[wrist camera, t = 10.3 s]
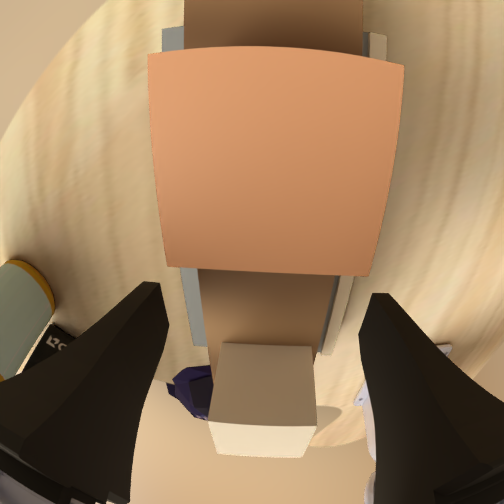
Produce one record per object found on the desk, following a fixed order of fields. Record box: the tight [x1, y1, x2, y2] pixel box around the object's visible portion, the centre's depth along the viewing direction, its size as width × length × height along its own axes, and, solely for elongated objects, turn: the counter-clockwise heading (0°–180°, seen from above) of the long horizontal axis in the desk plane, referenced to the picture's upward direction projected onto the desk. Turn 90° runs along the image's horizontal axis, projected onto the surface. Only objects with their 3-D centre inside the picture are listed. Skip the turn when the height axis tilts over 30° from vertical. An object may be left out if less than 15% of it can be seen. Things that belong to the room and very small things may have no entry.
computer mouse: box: [166, 365, 214, 420], centre depth 26 cm, size 9×15×4 cm, turn 134°
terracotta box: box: [148, 46, 404, 276], centre depth 6 cm, size 4×4×4 cm
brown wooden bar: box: [184, 0, 363, 384], centre depth 13 cm, size 22×5×5 cm, turn 179°
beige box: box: [208, 342, 317, 457], centre depth 12 cm, size 4×4×4 cm
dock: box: [162, 26, 387, 355], centre depth 16 cm, size 20×10×2 cm, turn 179°
